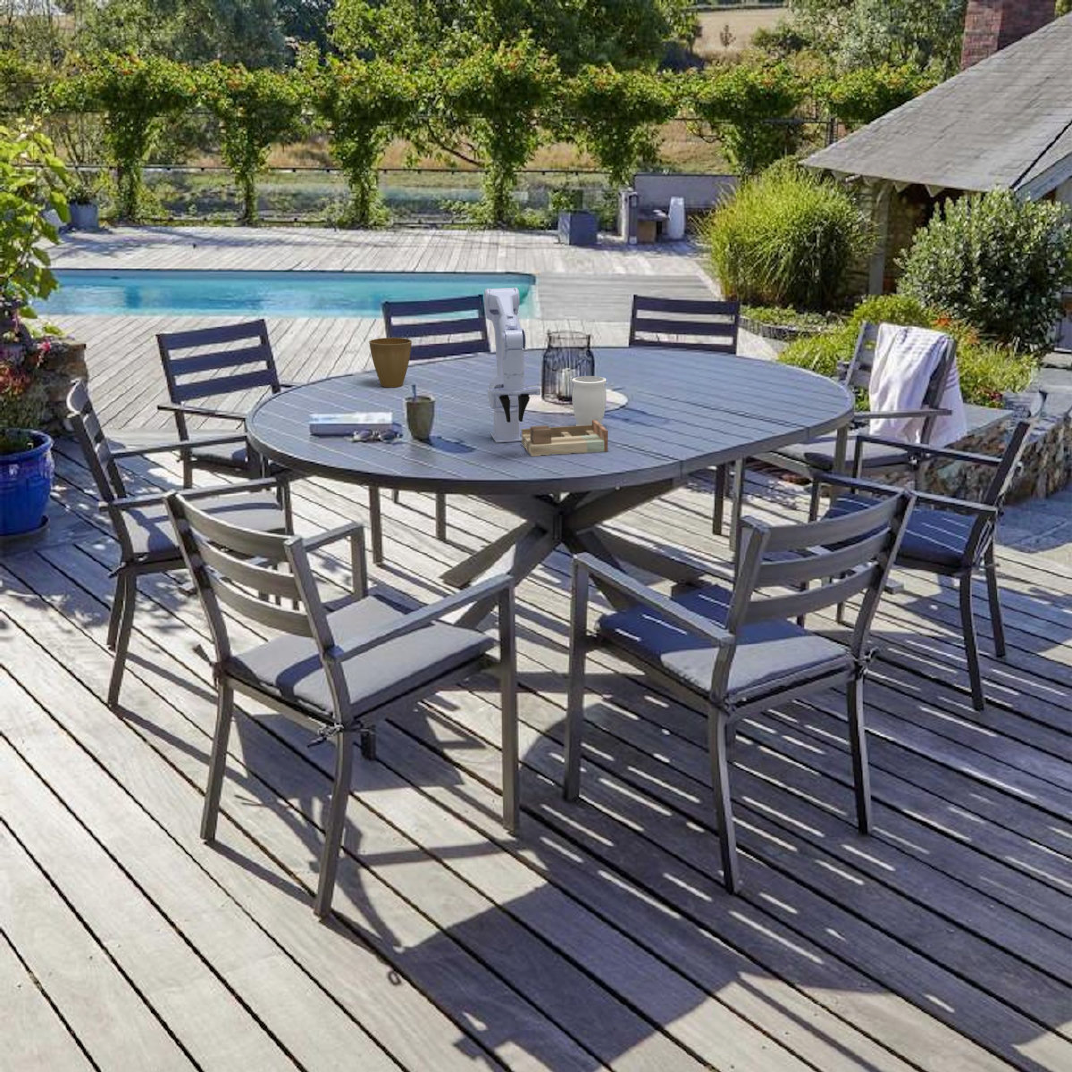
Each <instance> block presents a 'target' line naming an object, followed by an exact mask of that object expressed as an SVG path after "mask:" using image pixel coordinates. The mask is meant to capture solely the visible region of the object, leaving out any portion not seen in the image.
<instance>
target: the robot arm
mask: <svg viewBox="0 0 1072 1072" xmlns="http://www.w3.org/2000/svg"><path fill="white" fill-rule="evenodd" d="M483 300H484V304H483V305H484V313H485V317H486V320H489V321H491V322H492V326H493V331H494V343H495V356H496V369H497V370H496V372H497V376H496V377H494V379H492V381H490V382H489V385H488V389H487V397H488V402H489V407H490V408H491V409H492V410H493V411H494V413H493V433H491V434H490V436H491V437H492V438H493V441H495V443H506V442H507V443H510V442H511V443H512V442H522V436H521V435H520V423H521V422H523V421H524V414H525V411H526V408H527V406H528V405H529V402H530V399H531V396H533V395H534V396H541V388H540V386H525V351H526V346H527V338H526V332H525V329H524V328H522V327H521V322H520V320H519V317H518V316H517V315H518V313H519V307H520V291H519V289H518V288H517V287H516V286H515V287H509V288H508V287H502V288H488V287H486V288H485V289H484V292H483Z"/></svg>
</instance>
